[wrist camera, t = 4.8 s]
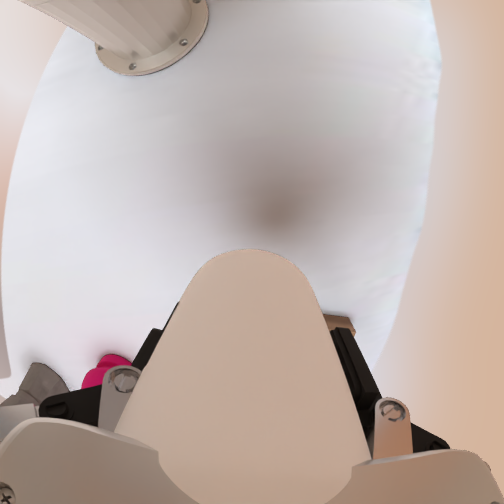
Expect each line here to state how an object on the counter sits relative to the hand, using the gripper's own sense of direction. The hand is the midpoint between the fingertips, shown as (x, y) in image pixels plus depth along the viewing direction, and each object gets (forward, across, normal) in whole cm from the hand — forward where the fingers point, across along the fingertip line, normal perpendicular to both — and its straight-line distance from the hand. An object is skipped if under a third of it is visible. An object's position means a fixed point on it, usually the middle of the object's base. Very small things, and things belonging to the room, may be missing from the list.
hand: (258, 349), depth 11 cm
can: (+3, 0, 0) cm, 3 cm away
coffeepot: (+18, +32, +33) cm, 49 cm away
